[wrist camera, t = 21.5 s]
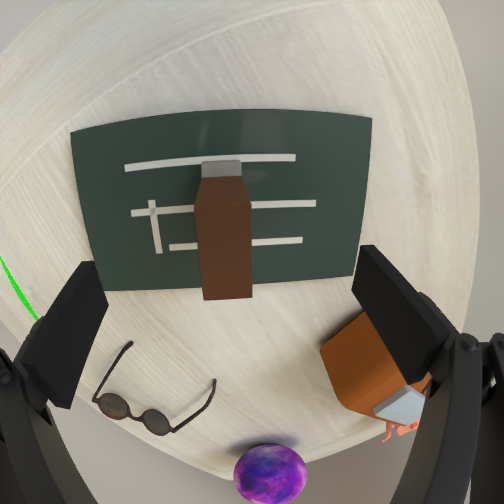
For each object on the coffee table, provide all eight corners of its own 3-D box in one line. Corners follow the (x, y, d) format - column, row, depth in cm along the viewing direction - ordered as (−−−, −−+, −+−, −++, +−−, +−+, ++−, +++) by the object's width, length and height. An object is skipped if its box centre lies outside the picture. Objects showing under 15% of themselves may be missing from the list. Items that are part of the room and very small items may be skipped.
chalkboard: (366, 117, 22) (372, 118, 20) (348, 270, 29) (353, 276, 28) (76, 131, 19) (69, 132, 18) (106, 284, 27) (103, 291, 26)
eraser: (202, 161, 21) (191, 188, 14) (239, 159, 21) (251, 184, 14) (208, 251, 25) (205, 313, 17) (242, 249, 25) (252, 310, 18)
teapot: (366, 408, 46) (380, 440, 39) (429, 371, 44) (447, 401, 37) (374, 423, 52) (386, 450, 44) (428, 392, 50) (443, 417, 42)
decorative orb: (258, 429, 44) (270, 498, 31) (313, 436, 50) (328, 493, 36) (217, 452, 49) (222, 510, 36) (270, 459, 54) (279, 509, 41)
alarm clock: (314, 342, 34) (341, 416, 24) (365, 301, 32) (409, 370, 22) (387, 386, 43) (410, 433, 33) (422, 359, 41) (450, 404, 31)
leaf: (46, 331, 29) (44, 335, 29) (-6, 245, 23) (-9, 248, 22) (50, 331, 29) (48, 335, 29) (-3, 244, 23) (-6, 247, 22)
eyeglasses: (95, 385, 35) (88, 410, 30) (125, 336, 30) (115, 367, 26) (175, 418, 40) (174, 442, 36) (223, 380, 36) (225, 409, 31)
